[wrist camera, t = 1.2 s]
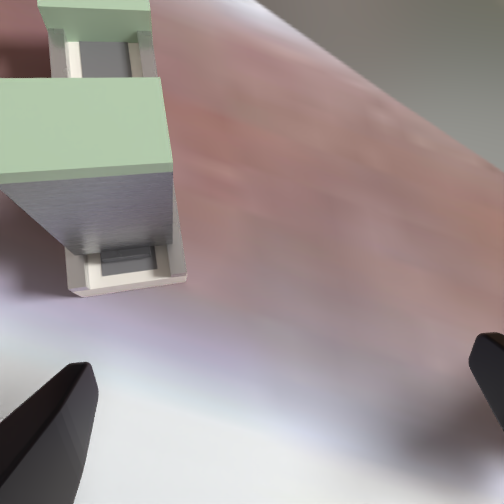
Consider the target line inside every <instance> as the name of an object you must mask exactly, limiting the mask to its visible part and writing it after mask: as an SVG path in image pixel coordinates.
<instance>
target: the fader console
mask: <svg viewBox="0 0 504 504" xmlns="http://www.w3.org/2000/svg"><path fill="white" fill-rule="evenodd" d="M37 3H38V8H39V11H40V13H41V16H42V18H43V21H44V23H45V26H46V28H47V31H48V38H49V51H50V64H51V77H52V78H130V77H158V76H157V69H156V62H155V55H154V49H153V41H152V26H151V11H150V4H149V0H37ZM150 251H151V257H150V258H143V259H135V260H127V261H120V262H112V263H104V262H103V261H102V260H101V253H93V254H85V255H76V256H75V255H74V254H73V253H71V252H70V251H69V250H68V249H67V248H66V247H65V258H66V271H67V284H68V290H70V291H72V292H73V293H75V294H77V295H79V296H81V297H90V296H97V295H103V294H110V293H117V292H123V291H130V290H137V289H143V288H150V287H157V286H163V285H170V284H177V283H183V282H186V279H187V270H186V264H185V257H184V250H183V243H182V237H181V230H180V223H179V217H178V210H177V203H176V196H175V190H174V183H173V244H167V245H159V246H150Z"/></svg>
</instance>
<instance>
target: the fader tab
mask: <svg viewBox="0 0 504 504" xmlns="http://www.w3.org/2000/svg"><path fill="white" fill-rule="evenodd" d="M0 190H1V191H3V192H4V193H5V194H6V195H7V196H8V197H9V198H11V199H12V200H13V201H14V202H15V203H16V204H17V205H18V206H20V207H21V208H22V209H23V210H24V211H25V212H26V213H27V214H29V215H30V216H31V217H32V218H33V219H34V220H35V221H36V222H38V223H39V224H40V225H41V226H42V227H43V228H44V229H45V230H47V231H48V232H49V233H50V234H51V235H52V236H53V237H54V238H56V239H57V240H58V241H59V242H60V243H61V244H62V245H64V246H65V247H66V248H67V249H68V250H69V251H70V252H71V253H73V254H74V255H75V256H76V255H85V254H93V253H101V260H102V261H103V262H104V263H112V262H120V261H127V260H135V259H143V258H150V257H151V251H150V246H159V245H167V244H173V160H172V153H171V147H170V140H169V133H168V127H167V120H166V113H165V107H164V100H163V93H162V87H161V80H160V77H130V78H0Z"/></svg>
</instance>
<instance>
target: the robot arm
mask: <svg viewBox="0 0 504 504" xmlns="http://www.w3.org/2000/svg"><path fill="white" fill-rule="evenodd" d="M469 367H470V369H471V371H472V373H473V375H474V377H475V379H476V381H477V383H478V385H479V386H480V388H481V390H482V392H483V394H484V396H485V398H486V400H487V402H488V403H489V405H490V407H491V409H492V411H493V413H494V415H495V417H496V418H497V420H498V422H499V424H500V426H501V427H502V429H503V431H504V335H503V334H500V333H497V332H491V333H481V334H479V335H478V336H477V337H476V340H475V343H474V345H473V348H472V351H471V354H470V356H469ZM97 402H98V386H97V383H96V379H95V376H94V373H93V369H92V366H91V364H90V363H88V362H79V363H70V364H68V365H67V366H65V367H64V368H63V369H62V370H61V371H60V372H58V373H57V374H56V375H55V376H54V377H53V378H52V379H50V380H49V381H48V382H47V383H46V384H45V385H43V386H42V387H41V388H40V389H39V390H38V391H36V392H35V393H34V394H33V395H32V396H31V397H29V398H28V399H27V400H26V401H25V402H24V403H22V404H21V405H20V406H19V407H18V408H17V409H15V410H14V411H13V412H12V413H11V414H10V415H8V416H7V417H6V418H5V419H4V420H3V421H2V422H0V504H73V503H74V499H75V496H76V493H77V490H78V487H79V483H80V480H81V477H82V473H83V469H84V465H85V461H86V456H87V451H88V446H89V441H90V436H91V431H92V427H93V422H94V417H95V412H96V407H97Z"/></svg>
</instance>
